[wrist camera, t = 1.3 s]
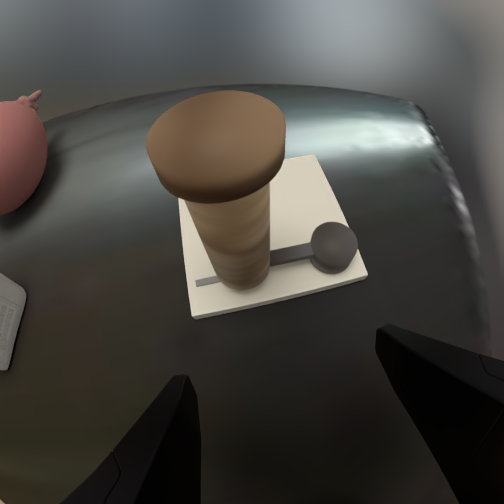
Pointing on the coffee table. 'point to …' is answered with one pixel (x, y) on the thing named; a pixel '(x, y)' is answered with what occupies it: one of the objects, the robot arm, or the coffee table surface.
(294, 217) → the dial board
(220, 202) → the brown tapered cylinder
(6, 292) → the photo printer
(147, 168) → the coffee table surface
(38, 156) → the balloon
